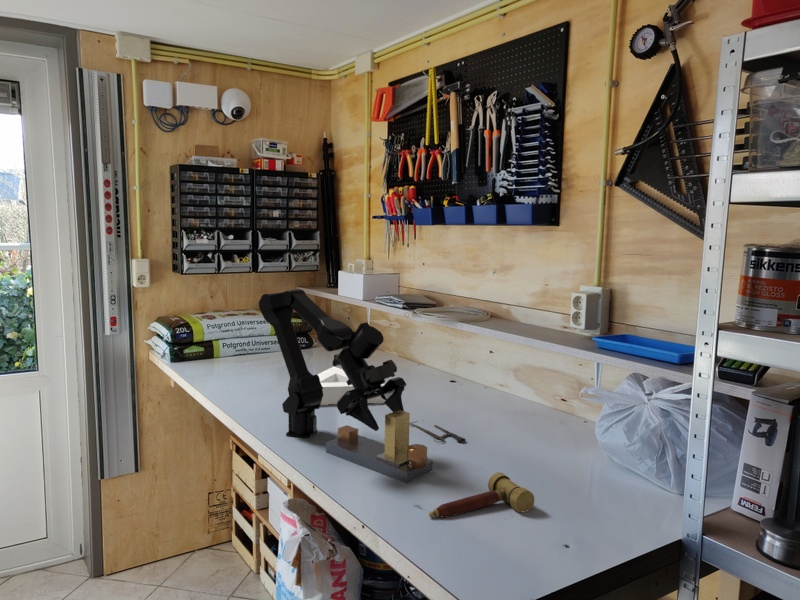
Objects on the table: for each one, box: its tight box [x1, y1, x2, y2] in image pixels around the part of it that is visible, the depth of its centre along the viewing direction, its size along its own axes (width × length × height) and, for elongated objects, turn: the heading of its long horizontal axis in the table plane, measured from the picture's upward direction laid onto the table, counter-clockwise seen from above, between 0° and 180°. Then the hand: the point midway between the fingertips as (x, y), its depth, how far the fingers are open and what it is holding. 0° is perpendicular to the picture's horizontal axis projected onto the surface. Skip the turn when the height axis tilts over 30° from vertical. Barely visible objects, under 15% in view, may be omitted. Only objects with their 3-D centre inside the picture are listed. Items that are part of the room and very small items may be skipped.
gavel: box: [428, 471, 535, 518], centre depth 119 cm, size 21×5×10 cm
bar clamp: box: [409, 419, 467, 444], centre depth 163 cm, size 24×10×2 cm, turn 29°
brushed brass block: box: [384, 410, 411, 461], centre depth 137 cm, size 3×5×10 cm, turn 139°
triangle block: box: [316, 366, 386, 406], centre depth 191 cm, size 30×26×6 cm
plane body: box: [325, 425, 434, 484], centre depth 141 cm, size 27×9×6 cm, turn 49°
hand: (391, 425), depth 138 cm, fingers open, 9 cm apart
